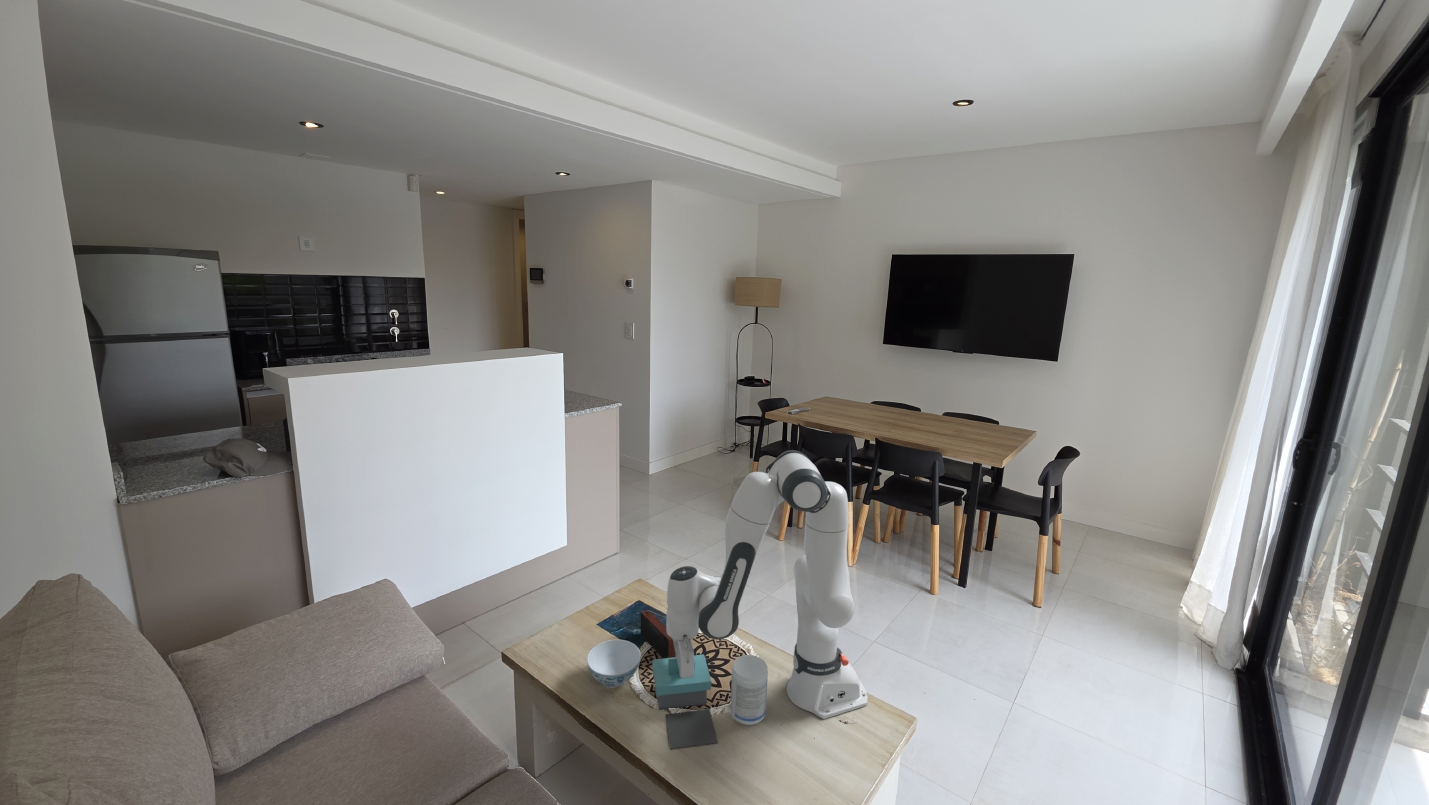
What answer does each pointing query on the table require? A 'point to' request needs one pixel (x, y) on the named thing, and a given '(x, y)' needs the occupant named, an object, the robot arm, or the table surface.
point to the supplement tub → (749, 689)
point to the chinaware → (613, 662)
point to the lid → (671, 681)
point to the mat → (690, 729)
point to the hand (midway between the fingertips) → (681, 668)
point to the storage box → (682, 700)
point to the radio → (657, 635)
